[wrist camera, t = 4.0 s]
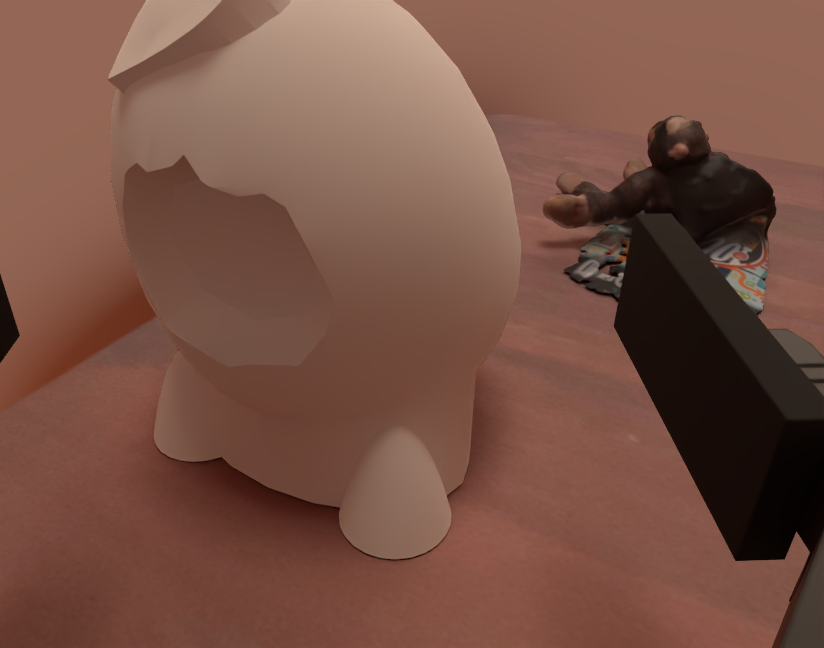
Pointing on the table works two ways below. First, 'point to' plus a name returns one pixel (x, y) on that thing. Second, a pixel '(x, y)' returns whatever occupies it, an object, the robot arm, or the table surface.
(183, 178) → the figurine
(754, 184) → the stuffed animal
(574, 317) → the table surface
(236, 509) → the table surface
